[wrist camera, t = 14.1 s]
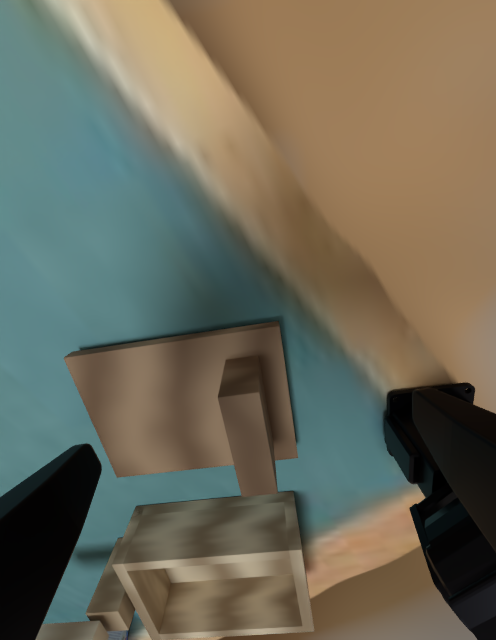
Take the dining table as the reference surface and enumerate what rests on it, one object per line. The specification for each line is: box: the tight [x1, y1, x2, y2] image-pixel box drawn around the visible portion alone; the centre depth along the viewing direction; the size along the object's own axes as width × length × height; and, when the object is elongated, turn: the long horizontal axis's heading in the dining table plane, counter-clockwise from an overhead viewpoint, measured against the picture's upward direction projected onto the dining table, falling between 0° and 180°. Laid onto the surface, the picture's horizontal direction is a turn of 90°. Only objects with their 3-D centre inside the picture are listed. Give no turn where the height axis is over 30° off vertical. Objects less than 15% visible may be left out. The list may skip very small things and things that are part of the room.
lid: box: [64, 321, 298, 497], centre depth 20 cm, size 16×12×6 cm
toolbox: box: [86, 491, 314, 640], centre depth 26 cm, size 20×12×6 cm, turn 100°
